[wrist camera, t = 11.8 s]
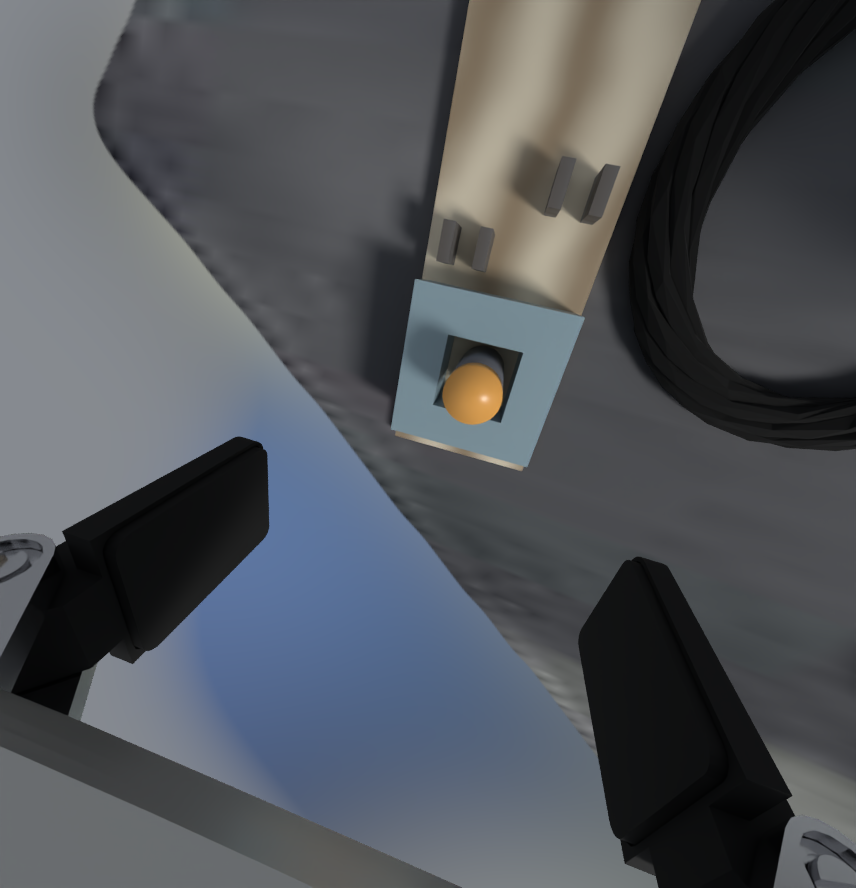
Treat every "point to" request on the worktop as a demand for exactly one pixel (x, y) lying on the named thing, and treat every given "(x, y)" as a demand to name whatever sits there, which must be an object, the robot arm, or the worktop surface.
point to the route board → (545, 148)
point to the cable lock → (680, 221)
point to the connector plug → (475, 386)
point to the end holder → (495, 323)
